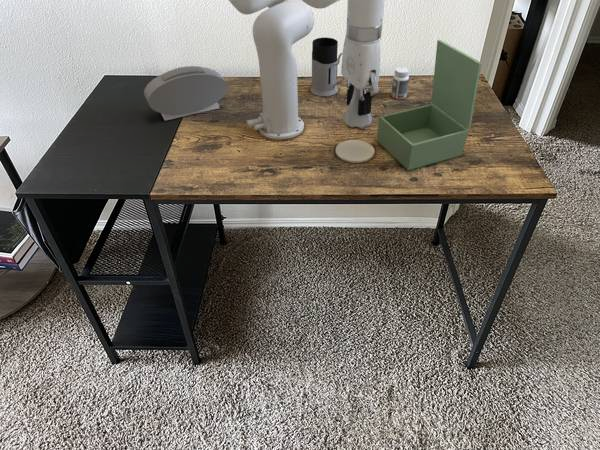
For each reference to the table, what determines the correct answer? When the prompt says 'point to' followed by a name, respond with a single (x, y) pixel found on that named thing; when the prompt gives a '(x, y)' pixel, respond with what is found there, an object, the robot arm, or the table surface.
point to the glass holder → (325, 66)
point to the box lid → (455, 83)
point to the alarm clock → (185, 91)
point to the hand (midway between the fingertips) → (358, 108)
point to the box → (421, 136)
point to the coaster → (355, 151)
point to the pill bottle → (400, 83)
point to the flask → (356, 112)
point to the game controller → (353, 126)
